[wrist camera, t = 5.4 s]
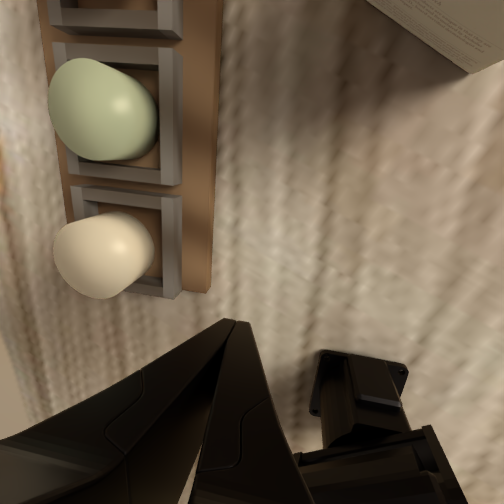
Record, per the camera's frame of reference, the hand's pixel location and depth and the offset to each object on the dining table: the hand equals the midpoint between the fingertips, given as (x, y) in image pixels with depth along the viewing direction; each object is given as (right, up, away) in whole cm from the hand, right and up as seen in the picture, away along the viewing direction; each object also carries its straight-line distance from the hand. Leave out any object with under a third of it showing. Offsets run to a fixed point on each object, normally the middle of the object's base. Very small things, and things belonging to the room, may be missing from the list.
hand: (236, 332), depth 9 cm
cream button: (-8, +3, +10) cm, 14 cm away
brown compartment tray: (-7, +11, +10) cm, 17 cm away
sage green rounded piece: (-7, +11, +9) cm, 16 cm away
